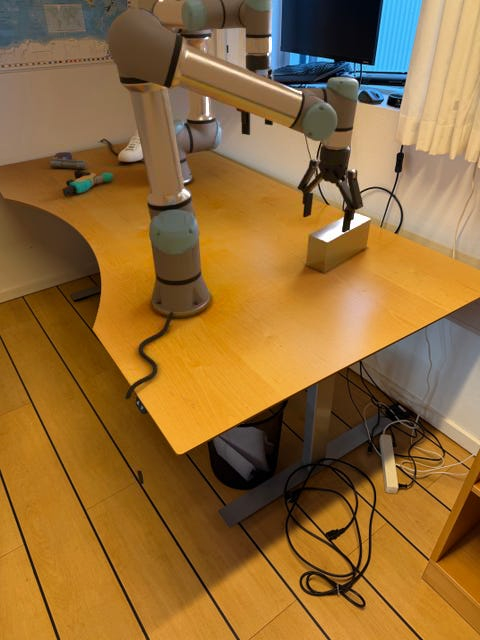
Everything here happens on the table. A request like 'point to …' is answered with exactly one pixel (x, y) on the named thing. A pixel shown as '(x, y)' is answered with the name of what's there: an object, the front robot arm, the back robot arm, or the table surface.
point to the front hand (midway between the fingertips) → (325, 223)
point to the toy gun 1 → (66, 161)
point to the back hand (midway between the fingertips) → (257, 129)
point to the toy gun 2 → (85, 181)
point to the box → (337, 243)
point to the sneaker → (132, 150)
